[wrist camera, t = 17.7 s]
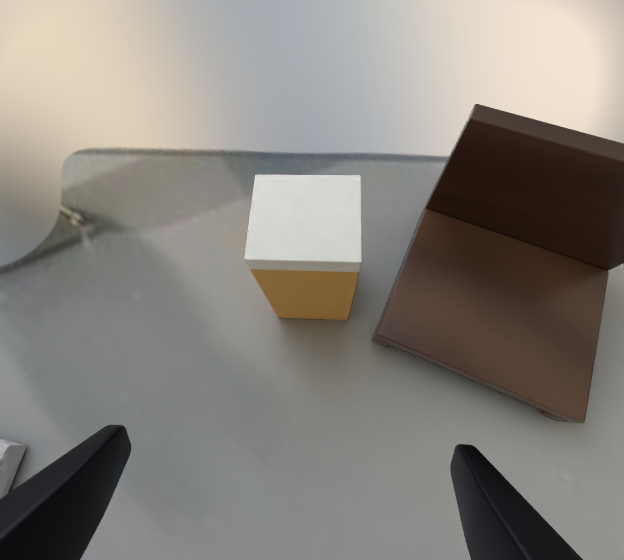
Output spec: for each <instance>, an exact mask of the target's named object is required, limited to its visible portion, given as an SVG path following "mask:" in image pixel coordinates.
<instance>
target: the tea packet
mask: <svg viewBox="0 0 624 560" xmlns="http://www.w3.org/2000/svg"><path fill="white" fill-rule="evenodd" d="M244 260H245V262H246V263H247V265H248V267H249V269H250V270H251V272H252V274H253V275H254V277H255V279H256V280H257V282H258V284H259V285H260V287H261V289H262V291H263V292H264V294H265V296H266V297H267V299H268V301H269V303H270V304H271V306H272V308H273V309H274V311H275V313H276V315H277V316H278V317H279V318H307V319H335V320H348V318H349V314H350V309H351V305H352V301H353V297H354V293H355V288H356V284H357V280H358V276H359V271H360V268H361V263H362V216H361V176H352V175H255V181H254V189H253V196H252V204H251V211H250V219H249V226H248V234H247V241H246V249H245V256H244Z"/></svg>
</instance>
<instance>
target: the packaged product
mask: <svg viewBox="0 0 624 560" xmlns="http://www.w3.org/2000/svg"><path fill="white" fill-rule="evenodd" d="M26 447H27V445H23V444H20V443H16V442H12V441H8V440H5V439H1V438H0V499H1V498H2V497H4V496H5V495H7V494H8V492H9V489H10V487H11V484H12V482H13V479H14V477H15V474H16V472H17V469H18V467H19V464H20V462H21V459H22V457H23V454H24V452H25V449H26Z"/></svg>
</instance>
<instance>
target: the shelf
mask: <svg viewBox="0 0 624 560" xmlns="http://www.w3.org/2000/svg"><path fill="white" fill-rule="evenodd" d="M623 263H624V144H623V143H620V142H616V141H612V140H608V139H605V138H601V137H597V136H594V135H590V134H586V133H582V132H579V131H575V130H571V129H567V128H564V127H560V126H556V125H553V124H549V123H546V122H542V121H538V120H534V119H531V118H527V117H523V116H519V115H516V114H512V113H509V112H505V111H501V110H497V109H494V108H490V107H486V106H483V105H479V104H475V105H474V108H473V110H472V111H471V114H470V116H469V118H468V120H467V122H466V124H465V126H464V128H463V130H462V132H461V134H460V136H459V138H458V140H457V142H456V144H455V146H454V148H453V150H452V152H451V154H450V156H449V158H448V160H447V162H446V164H445V166H444V169H443V171H442V173H441V175H440V177H439V179H438V181H437V183H436V185H435V187H434V189H433V191H432V193H431V195H430V197H429V199H428V201H427V203H426V205H425V207H424V209H423V211H422V213H421V216H420V219H419V221H418V224H417V226H416V229H415V231H414V234H413V236H412V239H411V241H410V244H409V246H408V249H407V252H406V254H405V257H404V259H403V262H402V264H401V267H400V269H399V272H398V274H397V277H396V279H395V282H394V284H393V287H392V290H391V292H390V295H389V297H388V300H387V302H386V305H385V307H384V310H383V312H382V315H381V317H380V320H379V323H378V325H377V328H376V330H375V333H374V335H373V338H372V341H374V342H377V343H379V344H381V345H384V346H388V345H389V344H391V345H393V346H395V347H398V348H400V349H402V350H405V351H407V352H409V353H412V354H414V355H416V356H419V357H421V358H423V359H426V360H428V361H430V362H432V363H435V364H437V365H439V366H442V367H444V368H446V369H449V370H451V371H453V372H456V373H458V374H460V375H463V376H465V377H467V378H470V379H472V380H474V381H476V382H479V383H481V384H483V385H486V386H488V387H490V388H493V389H495V390H497V391H500V392H502V393H504V394H507V395H509V396H511V397H513V398H516V399H518V400H520V401H523V402H525V403H527V404H530V405H532V406H534V407H537V408H539V409H541V414H543V415H545V416H547V417H549V418H552V419H554V420H556V421H563V422H575V423H584V422H585V416H586V410H587V404H588V398H589V391H590V385H591V379H592V372H593V366H594V360H595V354H596V347H597V341H598V335H599V329H600V322H601V316H602V310H603V304H604V297H605V291H606V285H607V278H608V272H609V271H608V270H610V269H612V268H614V267H617V266H619V265H621V264H623Z"/></svg>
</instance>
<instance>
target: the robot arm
mask: <svg viewBox="0 0 624 560" xmlns="http://www.w3.org/2000/svg"><path fill="white" fill-rule="evenodd" d="M130 453H131V443H130V440H129V437H128V434H127V431H126V428H125V427H124V426H123V425H108V426H106V427H104V428H103V429H101V430H100V431H98V432H97V433H95V434H94V435H92V436H91V437H89V438H88V439H87V440H85V441H84V442H82V443H81V444H79V445H78V446H76V447H75V448H73V449H72V450H71V451H69V452H68V453H66V454H65V455H63V456H62V457H60V458H59V459H57V460H56V461H55V462H53V463H52V464H50V465H49V466H47V467H46V468H44V469H43V470H41V471H40V472H39V473H37V474H36V475H34V476H33V477H31V478H30V479H28V480H27V481H25V482H24V483H23V484H21V485H20V486H18V487H17V488H15V489H14V490H12V491H11V492H9V493H8V494H7V495H5V496H4V497H2V498H1V499H0V560H80V559H81V557H82V555H83V553H84V552H85V550H86V548H87V546H88V544H89V542H90V540H91V538H92V537H93V535H94V533H95V531H96V529H97V527H98V525H99V523H100V521H101V519H102V517H103V515H104V513H105V511H106V509H107V507H108V505H109V502H110V500H111V498H112V495H113V493H114V491H115V488H116V486H117V484H118V481H119V479H120V477H121V474H122V472H123V470H124V467H125V465H126V463H127V460H128V458H129V456H130ZM451 477H452V481H453V486H454V490H455V495H456V499H457V504H458V509H459V513H460V518H461V522H462V527H463V531H464V536H465V540H466V543H467V547H468V550H469V554H470V557H471V560H583V559H582V558H581V557H580V556H579V555H578V554H577V553H576V552H575V551H574V550H573V549H572V548H571V547H570V546H569V545H568V544H567V543H566V541H565V540H564V539H563V538H562V537H561V536H560V535H559V534H558V533H557V532H556V531H555V530H554V529H553V528H552V527H551V526H550V525H549V524H548V523H547V522H546V521H545V519H544V518H543V517H542V516H541V515H540V514H539V513H538V512H537V511H536V510H535V509H534V508H533V507H532V506H531V505H530V504H529V503H528V502H527V501H526V500H525V499H524V498H523V496H522V495H521V494H520V493H519V492H518V491H517V490H516V489H515V488H514V487H513V486H512V485H511V484H510V483H509V482H508V481H507V480H506V479H505V478H504V477H503V476H502V475H501V473H500V472H499V471H498V470H497V469H496V468H495V467H494V466H493V465H492V464H491V463H490V462H489V461H488V460H487V459H486V458H485V457H484V456H483V455H482V454H481V453H480V451H479V450H478V449H477V448H476V447H474V446H472V445H463V444H458V445H457V446H456V447H455V450H454V454H453V458H452V462H451Z"/></svg>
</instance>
